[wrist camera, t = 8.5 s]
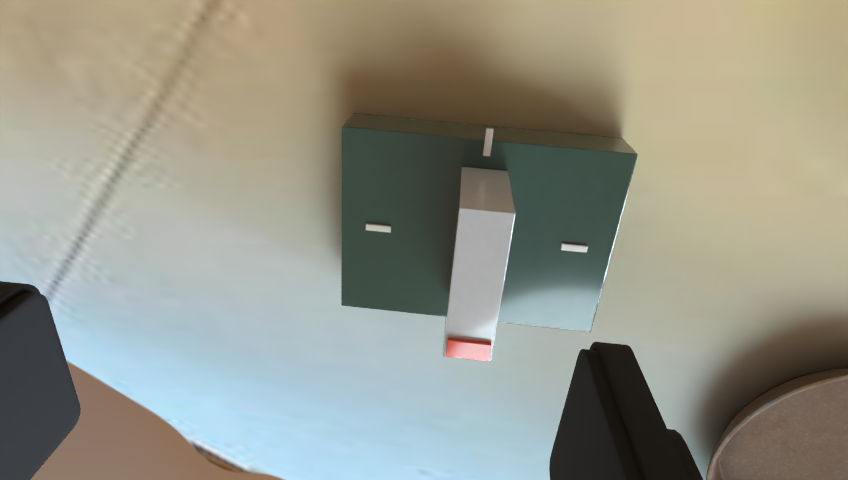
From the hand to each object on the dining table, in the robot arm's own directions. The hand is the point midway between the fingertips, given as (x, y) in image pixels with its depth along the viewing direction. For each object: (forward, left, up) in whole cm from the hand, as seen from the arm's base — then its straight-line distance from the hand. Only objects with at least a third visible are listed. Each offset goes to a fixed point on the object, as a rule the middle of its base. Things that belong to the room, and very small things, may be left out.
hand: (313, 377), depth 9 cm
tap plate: (+6, -5, -22) cm, 23 cm away
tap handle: (+6, -5, -19) cm, 20 cm away
